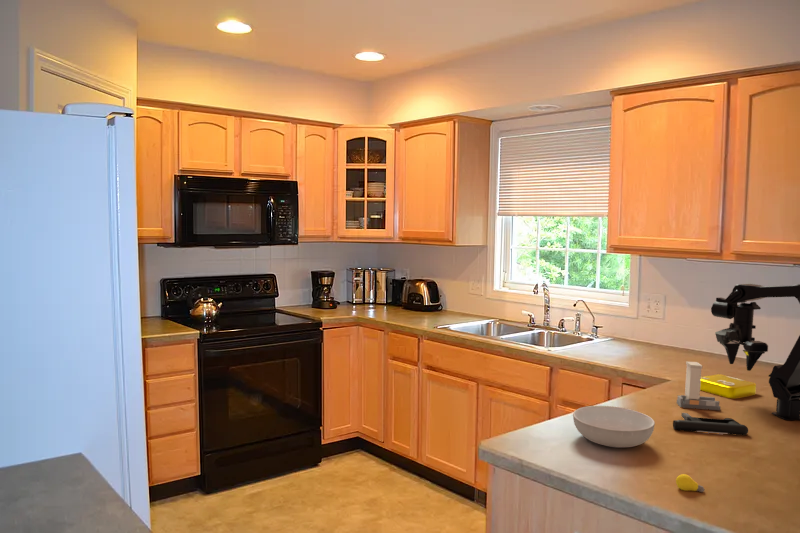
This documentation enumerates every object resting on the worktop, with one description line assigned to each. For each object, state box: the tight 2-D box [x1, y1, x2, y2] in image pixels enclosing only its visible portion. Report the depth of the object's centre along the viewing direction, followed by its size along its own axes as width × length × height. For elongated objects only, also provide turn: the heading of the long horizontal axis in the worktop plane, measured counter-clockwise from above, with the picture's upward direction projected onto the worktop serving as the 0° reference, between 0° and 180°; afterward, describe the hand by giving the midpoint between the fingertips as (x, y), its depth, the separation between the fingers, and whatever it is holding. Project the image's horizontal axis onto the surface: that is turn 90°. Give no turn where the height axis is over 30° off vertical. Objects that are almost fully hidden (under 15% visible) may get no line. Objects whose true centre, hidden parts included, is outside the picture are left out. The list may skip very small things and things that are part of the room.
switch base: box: [676, 394, 721, 411], centre depth 202 cm, size 12×5×3 cm, turn 80°
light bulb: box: [675, 473, 705, 493], centre depth 138 cm, size 3×6×4 cm, turn 74°
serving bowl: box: [572, 405, 656, 448], centre depth 168 cm, size 21×21×7 cm
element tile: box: [700, 373, 757, 400], centre depth 223 cm, size 15×15×5 cm
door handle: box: [672, 412, 749, 436], centre depth 183 cm, size 3×20×16 cm
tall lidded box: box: [684, 360, 703, 400], centre depth 202 cm, size 4×5×13 cm
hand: (739, 367), depth 208 cm, fingers open, 9 cm apart
